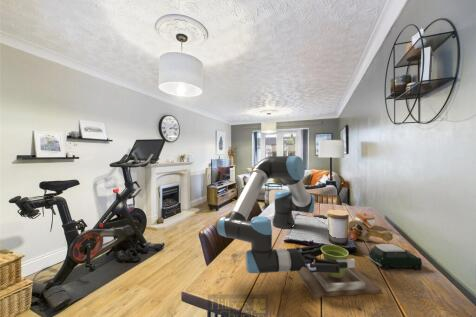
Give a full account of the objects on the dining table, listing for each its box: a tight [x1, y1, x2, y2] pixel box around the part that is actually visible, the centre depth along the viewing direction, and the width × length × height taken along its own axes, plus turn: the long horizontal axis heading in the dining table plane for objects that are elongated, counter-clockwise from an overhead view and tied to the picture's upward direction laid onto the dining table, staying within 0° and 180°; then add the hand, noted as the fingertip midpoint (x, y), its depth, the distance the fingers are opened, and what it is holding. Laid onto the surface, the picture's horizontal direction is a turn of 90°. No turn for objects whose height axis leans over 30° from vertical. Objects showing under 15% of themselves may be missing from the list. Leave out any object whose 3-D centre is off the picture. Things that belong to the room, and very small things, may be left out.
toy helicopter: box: [347, 213, 394, 243], centre depth 106 cm, size 8×21×14 cm, turn 39°
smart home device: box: [313, 214, 328, 219], centre depth 143 cm, size 8×2×20 cm
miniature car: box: [368, 243, 423, 271], centre depth 84 cm, size 9×18×8 cm, turn 89°
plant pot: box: [321, 244, 349, 278], centre depth 74 cm, size 9×9×9 cm
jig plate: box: [296, 266, 383, 299], centre depth 74 cm, size 24×16×3 cm, turn 95°
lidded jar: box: [354, 212, 375, 229], centre depth 128 cm, size 11×11×9 cm
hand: (346, 256), depth 74 cm, fingers closed on plant pot, 8 cm apart
